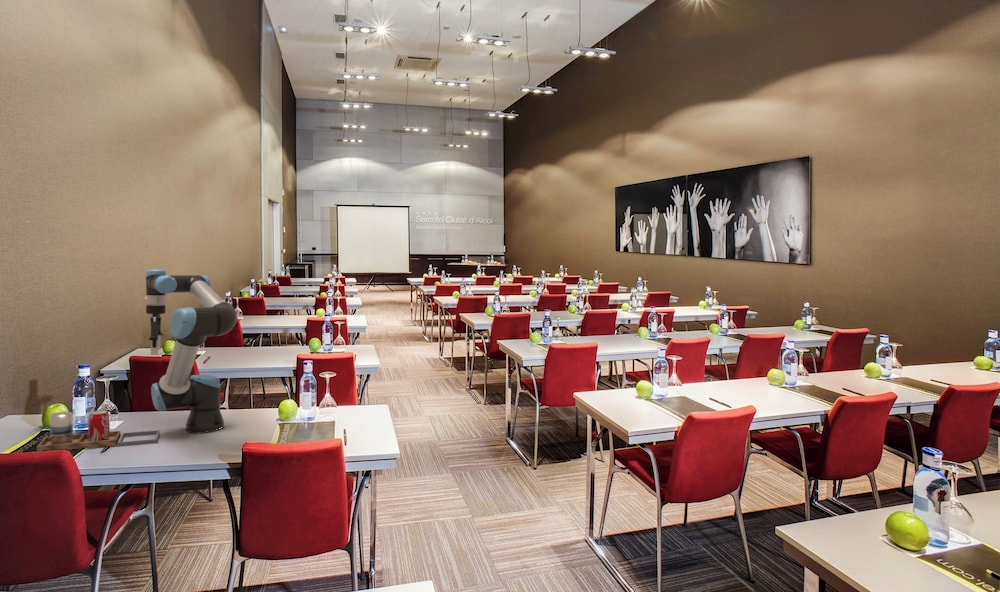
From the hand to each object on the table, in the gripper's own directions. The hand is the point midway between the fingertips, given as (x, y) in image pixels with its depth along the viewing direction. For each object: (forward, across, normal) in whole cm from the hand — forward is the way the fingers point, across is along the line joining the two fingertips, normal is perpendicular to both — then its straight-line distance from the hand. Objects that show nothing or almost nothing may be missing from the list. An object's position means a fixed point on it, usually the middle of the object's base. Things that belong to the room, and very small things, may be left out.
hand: (155, 352), depth 273 cm
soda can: (+31, +25, -18) cm, 44 cm away
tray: (+32, +25, -4) cm, 41 cm away
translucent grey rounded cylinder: (+32, +25, -30) cm, 50 cm away
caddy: (+32, +25, -24) cm, 47 cm away
